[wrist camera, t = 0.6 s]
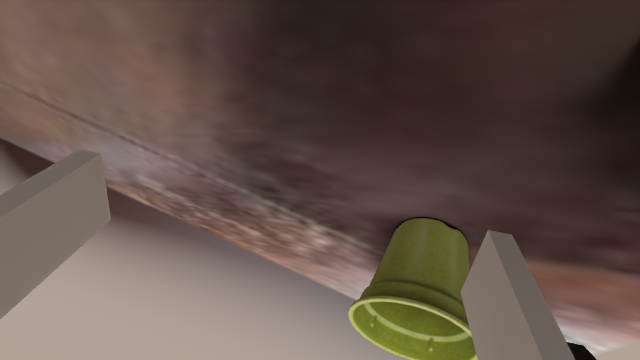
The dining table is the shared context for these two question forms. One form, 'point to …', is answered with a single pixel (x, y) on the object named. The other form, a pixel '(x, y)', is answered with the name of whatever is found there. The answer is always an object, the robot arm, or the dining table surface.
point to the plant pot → (419, 295)
